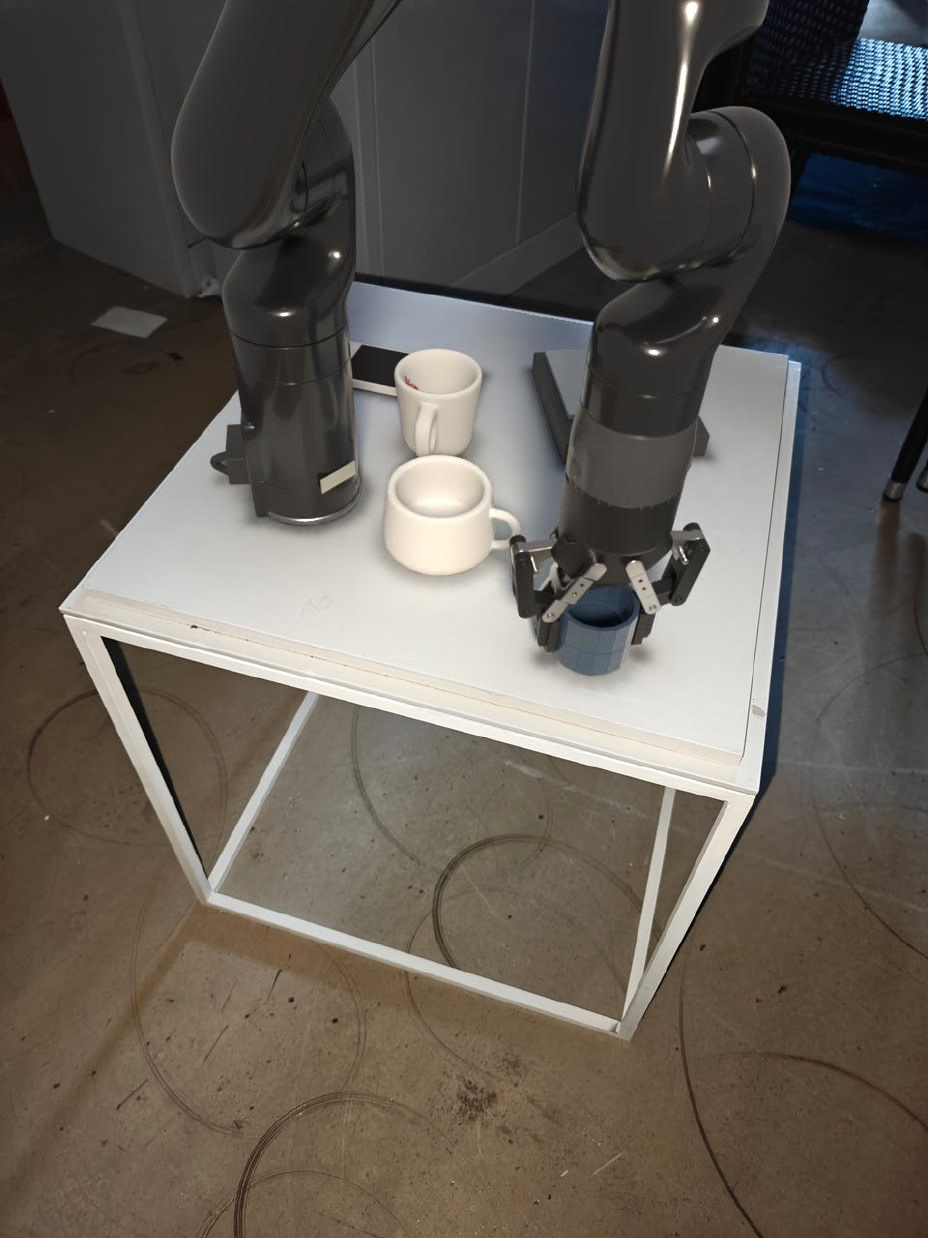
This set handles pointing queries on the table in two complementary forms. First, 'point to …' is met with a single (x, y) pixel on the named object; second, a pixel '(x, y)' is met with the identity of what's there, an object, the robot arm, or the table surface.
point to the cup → (438, 400)
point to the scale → (574, 395)
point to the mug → (442, 515)
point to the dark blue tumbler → (598, 630)
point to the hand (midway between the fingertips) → (590, 639)
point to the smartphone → (374, 367)
